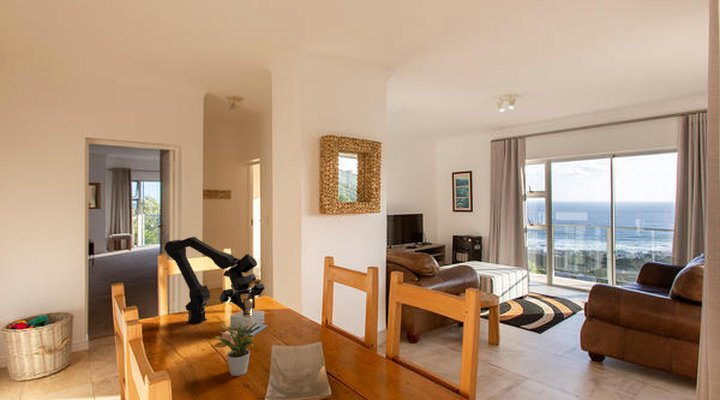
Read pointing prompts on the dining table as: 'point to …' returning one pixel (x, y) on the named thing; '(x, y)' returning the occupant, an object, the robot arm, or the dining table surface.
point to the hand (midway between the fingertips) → (249, 309)
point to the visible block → (228, 337)
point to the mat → (252, 330)
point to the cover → (247, 316)
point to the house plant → (238, 349)
